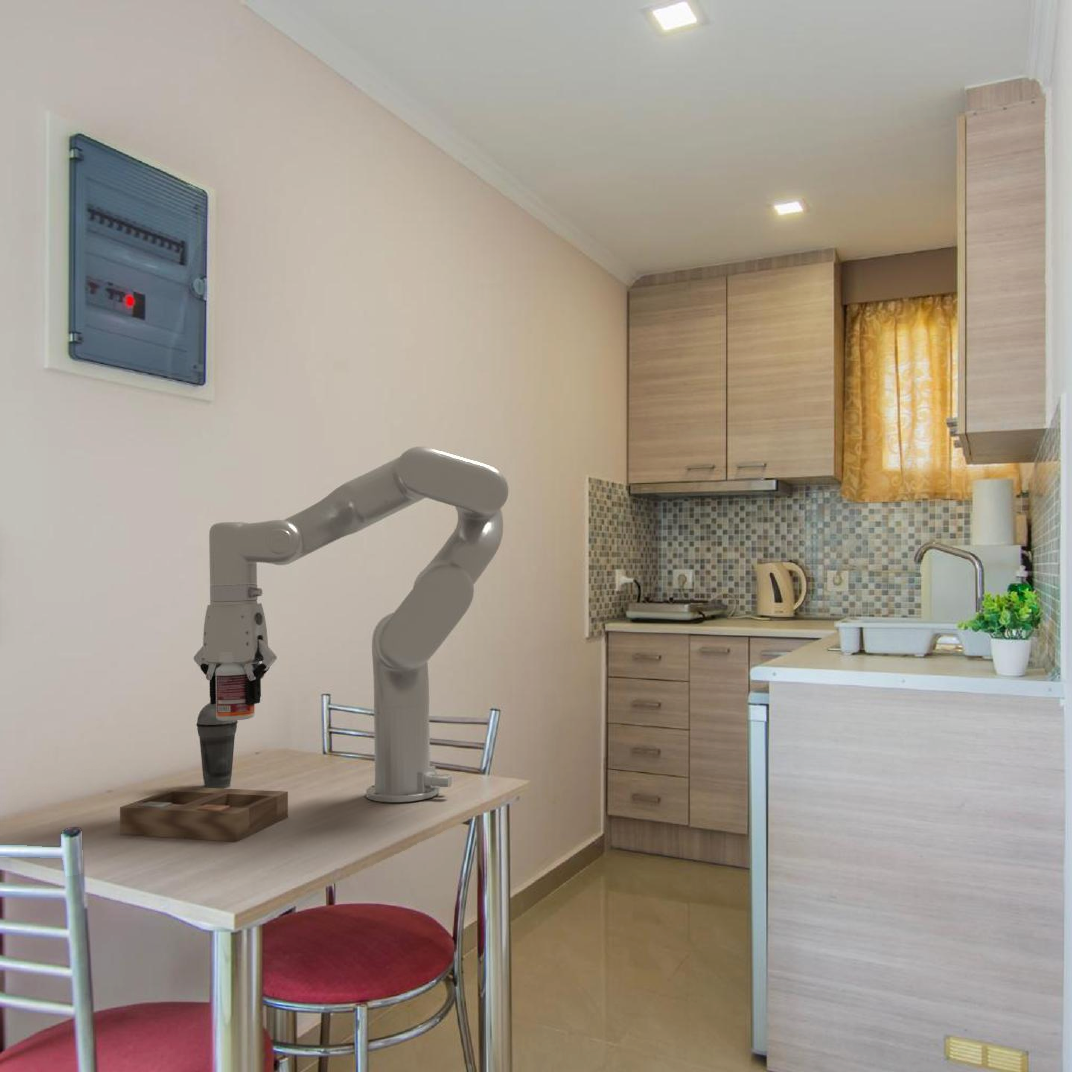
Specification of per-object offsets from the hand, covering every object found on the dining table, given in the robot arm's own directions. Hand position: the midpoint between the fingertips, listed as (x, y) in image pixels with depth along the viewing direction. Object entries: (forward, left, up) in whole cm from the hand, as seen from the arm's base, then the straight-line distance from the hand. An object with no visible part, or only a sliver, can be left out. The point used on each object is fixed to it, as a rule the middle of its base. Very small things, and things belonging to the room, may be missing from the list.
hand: (235, 702), depth 154 cm
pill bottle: (0, 0, -3) cm, 3 cm away
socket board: (-2, +11, -17) cm, 20 cm away
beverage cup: (+13, -14, -18) cm, 26 cm away
